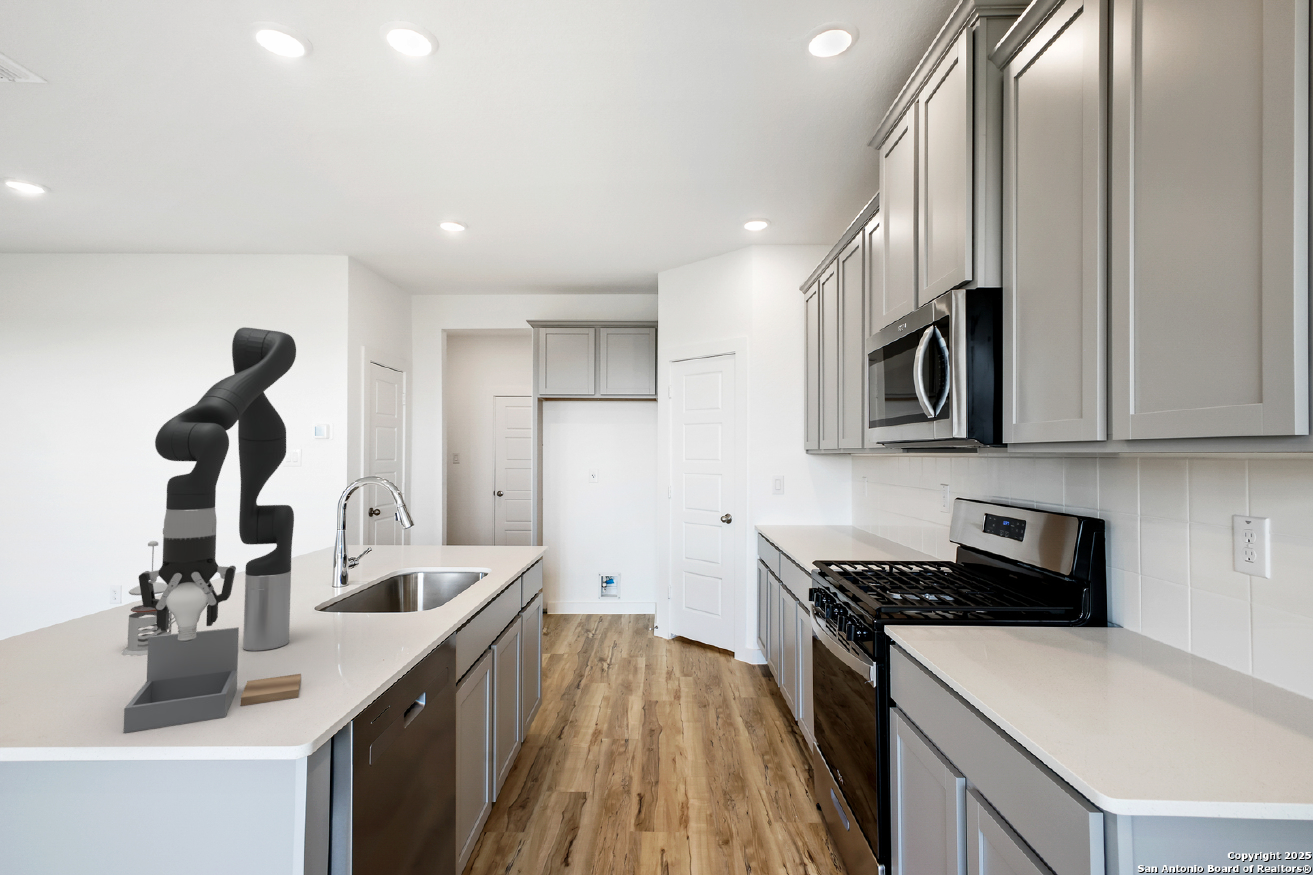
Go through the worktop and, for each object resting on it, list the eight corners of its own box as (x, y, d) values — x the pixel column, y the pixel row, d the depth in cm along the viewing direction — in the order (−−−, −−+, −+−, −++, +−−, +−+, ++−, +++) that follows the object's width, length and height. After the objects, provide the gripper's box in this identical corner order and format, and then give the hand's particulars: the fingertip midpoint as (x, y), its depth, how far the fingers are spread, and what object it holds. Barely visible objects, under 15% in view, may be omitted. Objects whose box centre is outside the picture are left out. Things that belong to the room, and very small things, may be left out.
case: (146, 702, 110) (149, 636, 111) (236, 689, 116) (238, 627, 117) (123, 733, 98) (126, 658, 98) (225, 717, 104) (227, 647, 105)
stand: (247, 688, 117) (247, 680, 117) (300, 681, 121) (301, 673, 121) (240, 705, 109) (240, 697, 109) (298, 697, 113) (298, 689, 113)
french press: (111, 652, 137) (115, 542, 138) (168, 638, 148) (172, 536, 149) (137, 658, 133) (141, 545, 134) (194, 643, 144) (197, 538, 145)
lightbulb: (180, 636, 111) (182, 576, 111) (217, 635, 111) (219, 576, 111) (154, 647, 104) (157, 583, 105) (193, 647, 105) (195, 583, 105)
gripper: (241, 528, 115) (239, 617, 115) (145, 532, 108) (142, 626, 108) (235, 534, 108) (232, 628, 108) (132, 538, 102) (129, 638, 101)
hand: (187, 626), depth 108 cm, fingers closed on lightbulb, 6 cm apart
